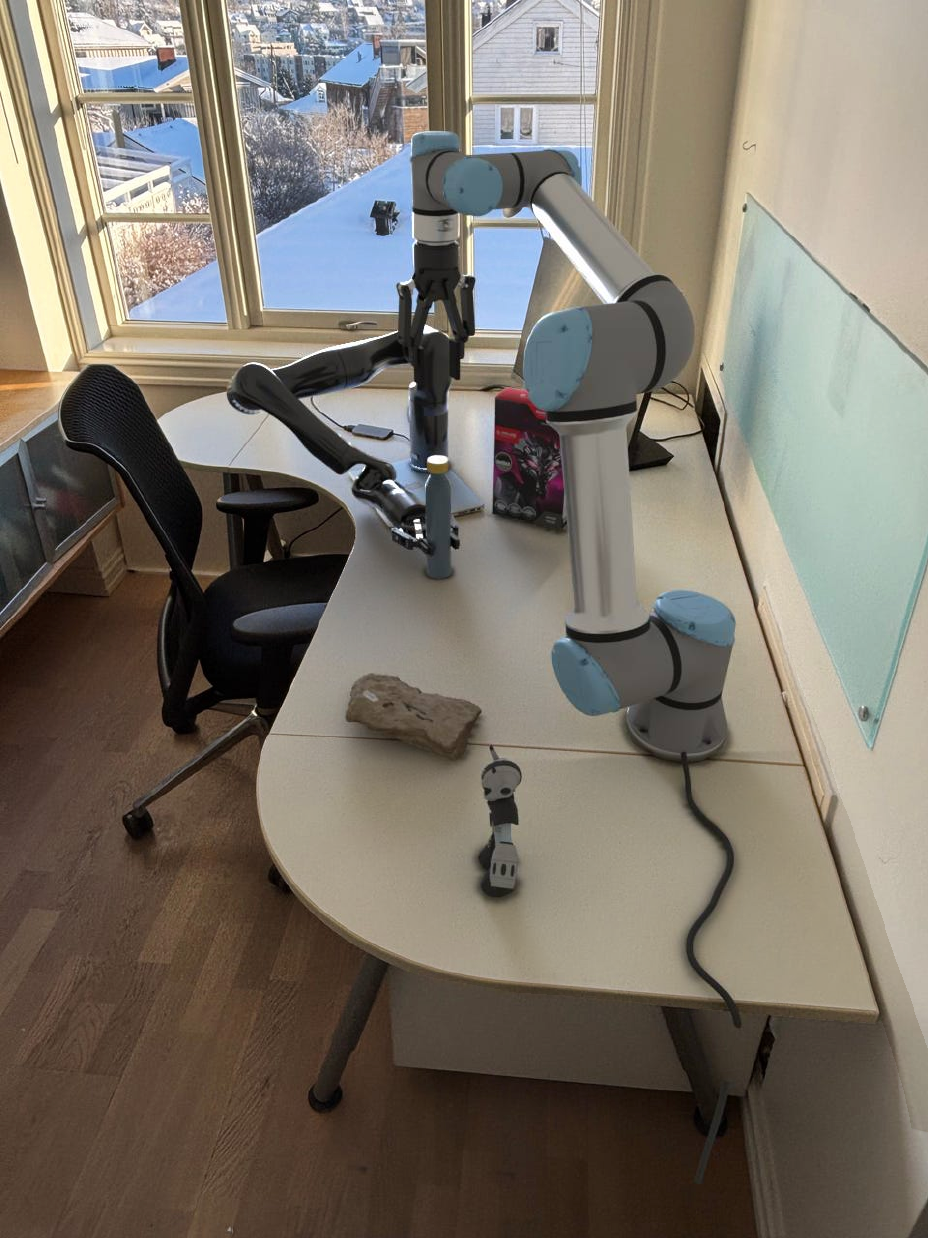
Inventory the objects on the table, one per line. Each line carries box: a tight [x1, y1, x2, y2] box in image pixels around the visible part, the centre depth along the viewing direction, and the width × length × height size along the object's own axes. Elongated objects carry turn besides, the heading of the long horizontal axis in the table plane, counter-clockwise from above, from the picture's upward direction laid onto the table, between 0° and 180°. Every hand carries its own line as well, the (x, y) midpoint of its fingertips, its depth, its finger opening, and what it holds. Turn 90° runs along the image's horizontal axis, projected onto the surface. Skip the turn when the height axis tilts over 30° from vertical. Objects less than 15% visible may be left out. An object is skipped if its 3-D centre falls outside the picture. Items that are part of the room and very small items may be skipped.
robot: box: [477, 744, 523, 898], centre depth 114 cm, size 20×5×20 cm, turn 3°
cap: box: [427, 455, 450, 474], centre depth 169 cm, size 4×4×2 cm
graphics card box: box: [491, 386, 567, 531], centre depth 194 cm, size 17×7×27 cm, turn 62°
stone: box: [344, 672, 483, 761], centre depth 141 cm, size 21×15×6 cm
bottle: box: [424, 472, 452, 580], centre depth 176 cm, size 5×5×24 cm
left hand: (445, 548), depth 177 cm, fingers closed on bottle, 5 cm apart
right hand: (437, 380), depth 161 cm, fingers open, 6 cm apart
